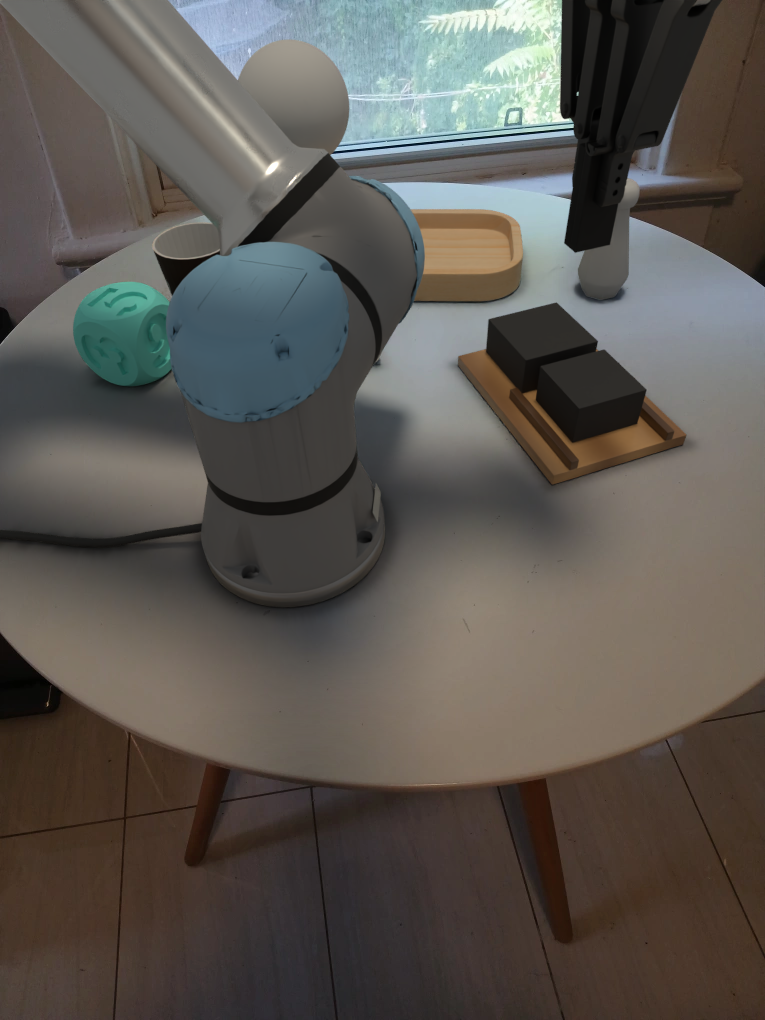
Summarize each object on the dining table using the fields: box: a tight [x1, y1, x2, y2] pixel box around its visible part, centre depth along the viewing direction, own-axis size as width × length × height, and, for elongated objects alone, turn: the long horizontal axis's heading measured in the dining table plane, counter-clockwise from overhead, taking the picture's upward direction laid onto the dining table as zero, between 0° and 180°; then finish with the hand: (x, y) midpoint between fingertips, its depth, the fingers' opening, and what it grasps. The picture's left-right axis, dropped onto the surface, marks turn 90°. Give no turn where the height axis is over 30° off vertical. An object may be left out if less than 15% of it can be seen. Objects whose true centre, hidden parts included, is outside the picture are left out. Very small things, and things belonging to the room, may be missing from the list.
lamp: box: [237, 39, 524, 302], centre depth 85 cm, size 33×17×25 cm, turn 86°
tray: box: [457, 348, 687, 485], centre depth 73 cm, size 14×20×2 cm
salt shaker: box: [577, 177, 641, 301], centre depth 83 cm, size 6×6×13 cm
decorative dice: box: [72, 281, 172, 387], centre depth 78 cm, size 8×8×8 cm
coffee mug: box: [151, 221, 220, 297], centre depth 84 cm, size 12×9×10 cm
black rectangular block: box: [536, 349, 648, 443], centre depth 69 cm, size 7×7×4 cm
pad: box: [485, 302, 599, 393], centre depth 75 cm, size 8×8×4 cm
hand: (586, 243), depth 50 cm, fingers closed
